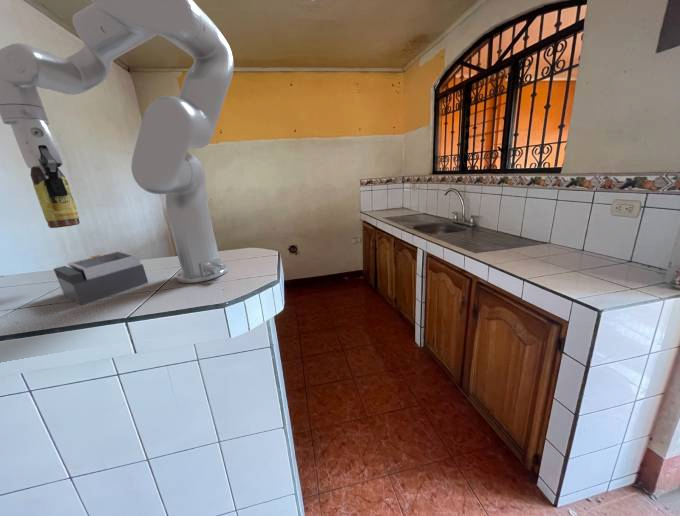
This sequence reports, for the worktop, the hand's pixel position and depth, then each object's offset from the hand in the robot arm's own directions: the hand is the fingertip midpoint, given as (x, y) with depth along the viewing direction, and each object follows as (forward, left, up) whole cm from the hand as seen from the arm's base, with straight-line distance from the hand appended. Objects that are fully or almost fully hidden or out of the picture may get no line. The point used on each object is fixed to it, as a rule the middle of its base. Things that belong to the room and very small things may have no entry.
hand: (54, 195), depth 72 cm
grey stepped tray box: (-12, -1, -23) cm, 26 cm away
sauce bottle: (0, 0, -8) cm, 8 cm away
